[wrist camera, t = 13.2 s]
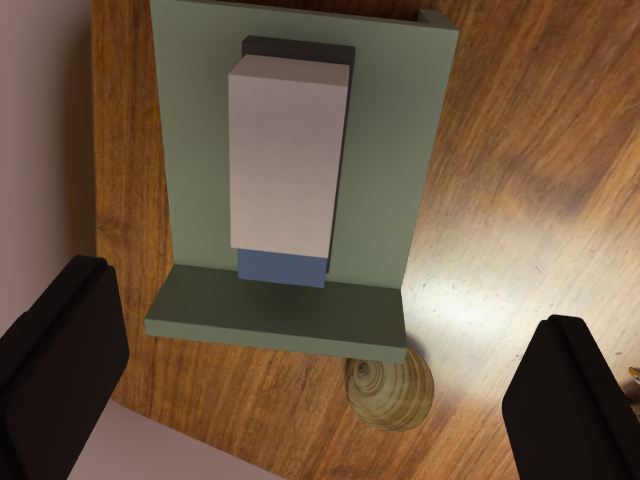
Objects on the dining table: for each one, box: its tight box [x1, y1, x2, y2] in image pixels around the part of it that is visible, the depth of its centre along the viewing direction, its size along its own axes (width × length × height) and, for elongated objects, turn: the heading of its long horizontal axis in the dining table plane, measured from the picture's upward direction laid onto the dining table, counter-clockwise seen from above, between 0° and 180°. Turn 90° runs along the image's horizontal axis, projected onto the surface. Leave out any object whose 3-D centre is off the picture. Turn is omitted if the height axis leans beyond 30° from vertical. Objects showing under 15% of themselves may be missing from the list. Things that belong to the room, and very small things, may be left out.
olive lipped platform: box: [144, 0, 459, 364], centre depth 27 cm, size 16×14×11 cm
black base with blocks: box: [228, 35, 356, 288], centre depth 24 cm, size 12×5×5 cm, turn 175°
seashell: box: [345, 346, 434, 433], centre depth 40 cm, size 10×7×8 cm
